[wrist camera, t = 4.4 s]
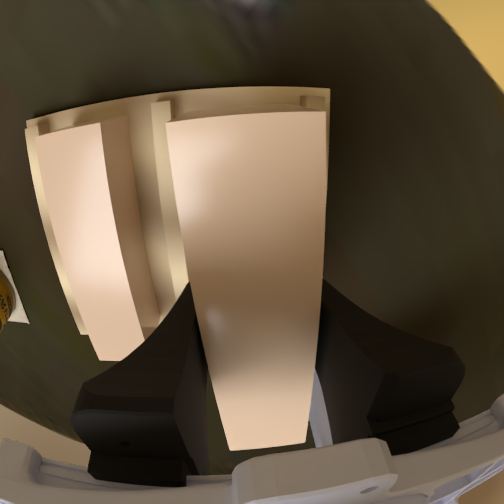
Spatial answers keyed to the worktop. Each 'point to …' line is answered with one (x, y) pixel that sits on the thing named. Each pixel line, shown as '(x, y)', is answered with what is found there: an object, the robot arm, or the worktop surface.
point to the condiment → (9, 297)
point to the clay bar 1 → (100, 231)
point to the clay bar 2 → (254, 258)
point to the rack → (158, 169)
